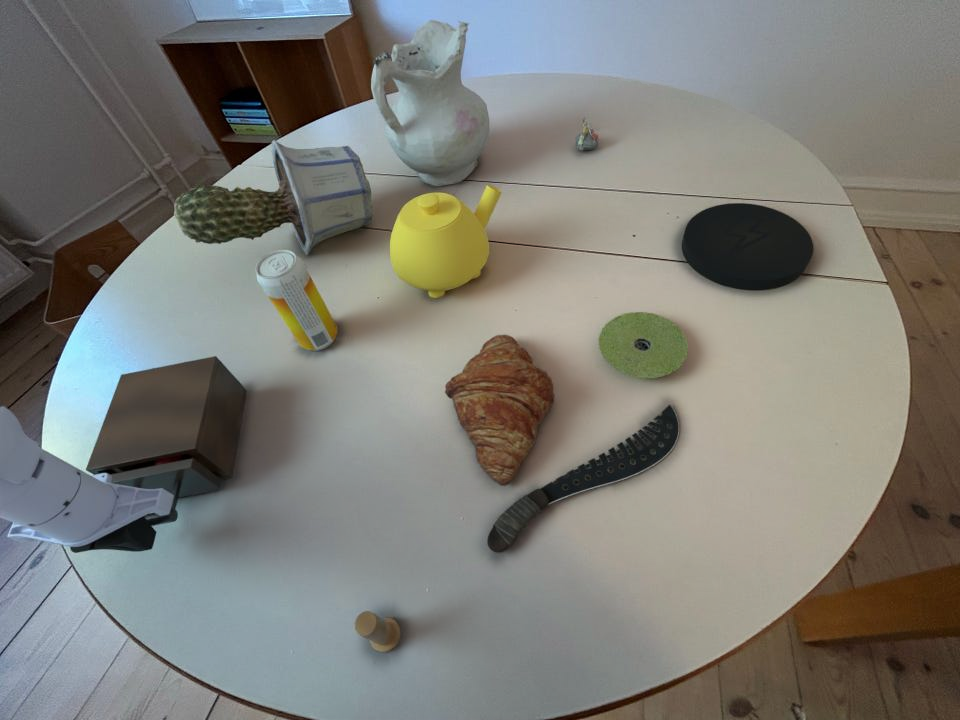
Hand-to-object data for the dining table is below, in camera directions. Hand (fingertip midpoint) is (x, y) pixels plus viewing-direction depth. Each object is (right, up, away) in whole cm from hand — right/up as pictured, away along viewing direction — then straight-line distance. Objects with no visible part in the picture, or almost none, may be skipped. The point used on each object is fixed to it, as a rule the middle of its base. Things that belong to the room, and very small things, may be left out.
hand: (148, 541), depth 54 cm
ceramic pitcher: (+29, +58, +44) cm, 78 cm away
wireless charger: (+77, +37, +21) cm, 88 cm away
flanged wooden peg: (+27, -7, -5) cm, 29 cm away
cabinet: (-2, +9, +12) cm, 15 cm away
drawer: (-1, +6, +8) cm, 10 cm away
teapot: (+33, +36, +27) cm, 55 cm away
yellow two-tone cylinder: (+12, +23, +20) cm, 33 cm away
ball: (-2, +8, +7) cm, 11 cm away
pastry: (+40, +14, +9) cm, 43 cm away
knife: (+50, +6, +2) cm, 50 cm away
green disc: (+58, +21, +12) cm, 63 cm away
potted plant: (+4, +41, +35) cm, 54 cm away
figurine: (+58, +62, +43) cm, 95 cm away
